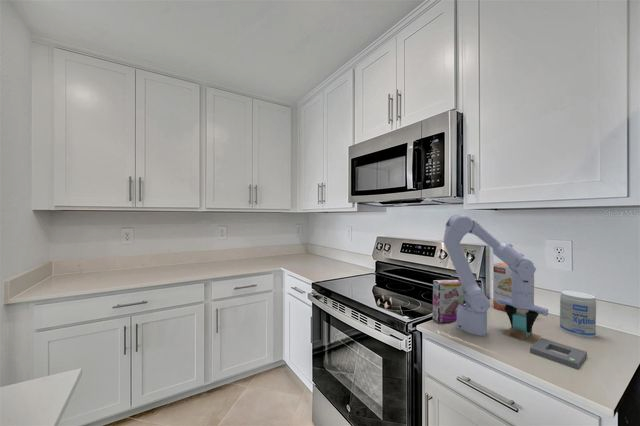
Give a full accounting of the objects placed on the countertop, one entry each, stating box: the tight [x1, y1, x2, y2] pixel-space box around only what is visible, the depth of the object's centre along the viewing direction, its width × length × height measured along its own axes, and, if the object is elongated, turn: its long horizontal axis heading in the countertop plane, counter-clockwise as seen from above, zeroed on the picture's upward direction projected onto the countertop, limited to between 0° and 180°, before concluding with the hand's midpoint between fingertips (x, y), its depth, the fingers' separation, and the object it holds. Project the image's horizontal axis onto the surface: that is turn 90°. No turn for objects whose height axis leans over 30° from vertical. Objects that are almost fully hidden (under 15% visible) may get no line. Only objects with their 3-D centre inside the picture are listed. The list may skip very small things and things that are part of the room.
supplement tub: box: [559, 290, 597, 338], centre depth 98 cm, size 10×10×15 cm
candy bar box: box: [432, 279, 465, 324], centre depth 110 cm, size 11×5×16 cm, turn 97°
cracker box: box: [492, 262, 535, 314], centre depth 119 cm, size 14×6×21 cm, turn 25°
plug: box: [513, 312, 530, 338], centre depth 95 cm, size 4×4×7 cm
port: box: [529, 337, 588, 370], centre depth 82 cm, size 11×11×3 cm
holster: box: [501, 327, 542, 345], centre depth 95 cm, size 9×9×4 cm
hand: (521, 329), depth 95 cm, fingers closed on plug, 4 cm apart
